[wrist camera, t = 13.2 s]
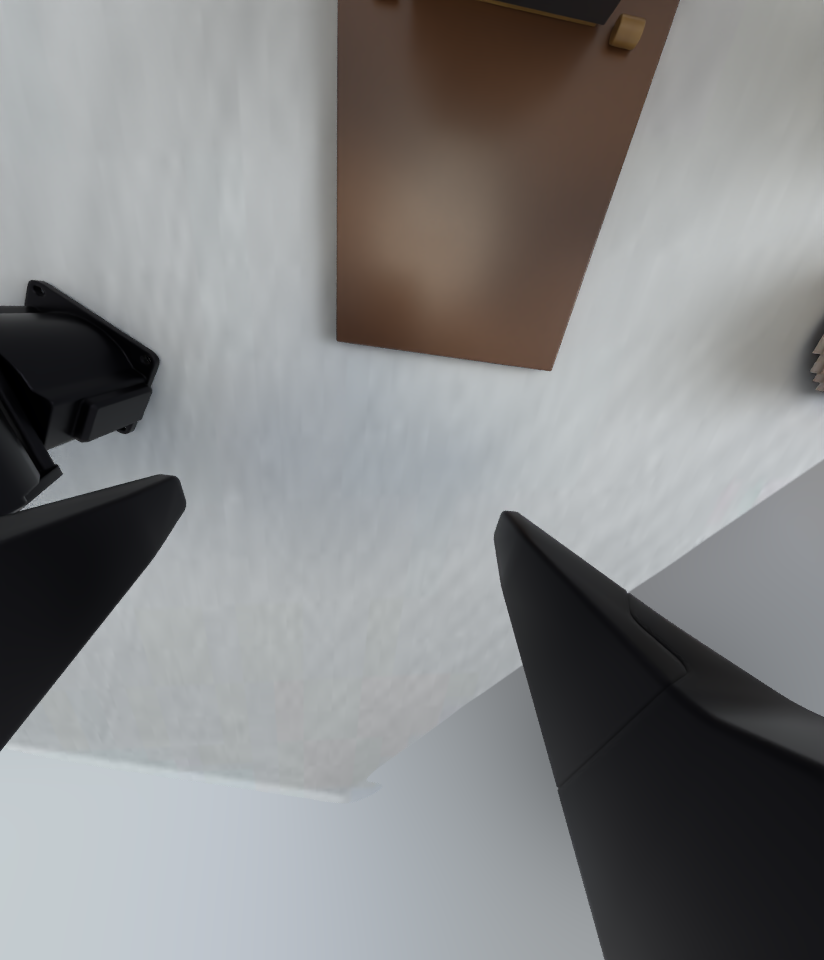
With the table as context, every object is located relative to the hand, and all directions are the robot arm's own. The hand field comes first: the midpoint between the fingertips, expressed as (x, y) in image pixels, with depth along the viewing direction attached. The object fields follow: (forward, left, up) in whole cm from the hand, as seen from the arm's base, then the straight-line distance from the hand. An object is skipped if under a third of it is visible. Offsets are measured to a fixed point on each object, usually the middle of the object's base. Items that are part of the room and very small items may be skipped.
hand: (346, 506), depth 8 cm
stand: (-3, +11, -13) cm, 18 cm away
